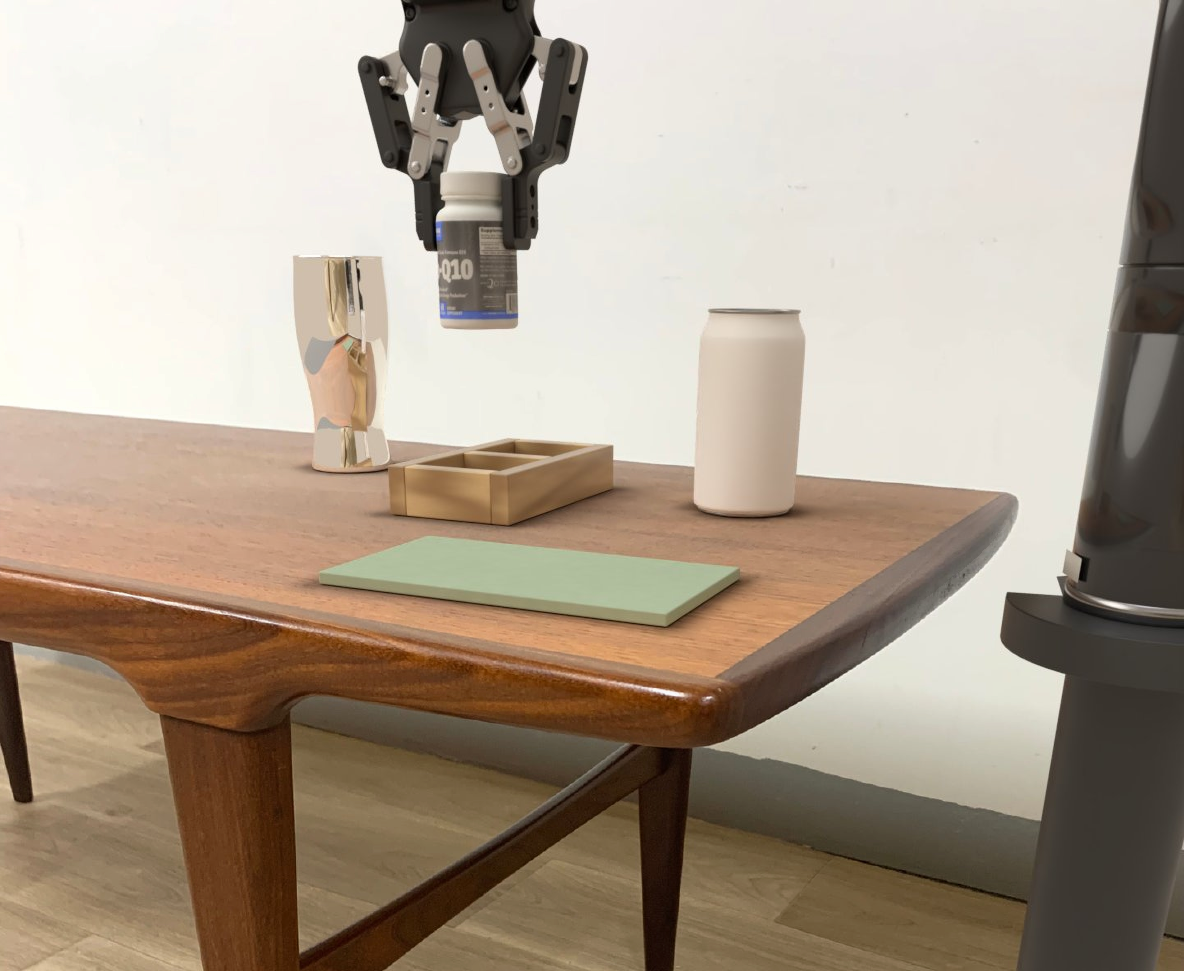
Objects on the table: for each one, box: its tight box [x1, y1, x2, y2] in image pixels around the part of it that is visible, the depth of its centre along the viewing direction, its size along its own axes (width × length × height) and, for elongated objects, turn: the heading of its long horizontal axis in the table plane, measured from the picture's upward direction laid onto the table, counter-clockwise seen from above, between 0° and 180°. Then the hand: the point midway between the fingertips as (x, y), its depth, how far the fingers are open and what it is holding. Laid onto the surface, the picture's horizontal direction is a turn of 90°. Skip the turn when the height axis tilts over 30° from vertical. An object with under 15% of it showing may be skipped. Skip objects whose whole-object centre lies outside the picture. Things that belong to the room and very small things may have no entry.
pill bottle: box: [436, 170, 519, 331], centre depth 72 cm, size 5×5×8 cm
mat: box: [318, 535, 741, 628], centre depth 59 cm, size 18×10×1 cm, turn 65°
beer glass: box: [291, 254, 393, 474], centre depth 92 cm, size 7×7×15 cm
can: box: [693, 307, 806, 518], centre depth 76 cm, size 6×6×12 cm
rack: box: [387, 437, 614, 527], centre depth 80 cm, size 8×16×3 cm, turn 156°
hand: (476, 249), depth 72 cm, fingers closed on pill bottle, 4 cm apart
